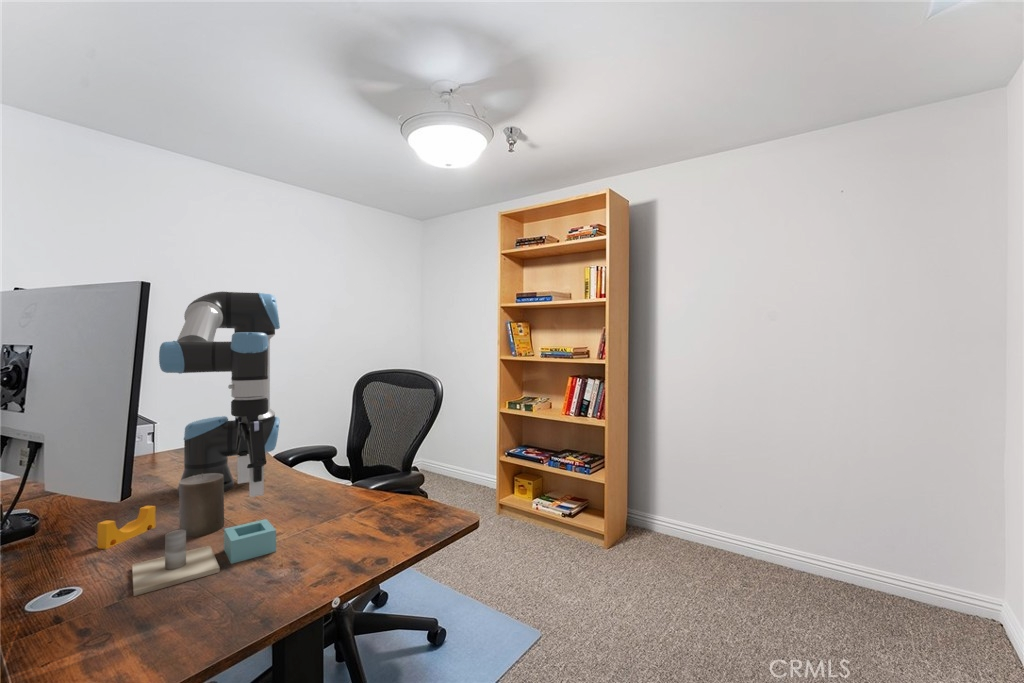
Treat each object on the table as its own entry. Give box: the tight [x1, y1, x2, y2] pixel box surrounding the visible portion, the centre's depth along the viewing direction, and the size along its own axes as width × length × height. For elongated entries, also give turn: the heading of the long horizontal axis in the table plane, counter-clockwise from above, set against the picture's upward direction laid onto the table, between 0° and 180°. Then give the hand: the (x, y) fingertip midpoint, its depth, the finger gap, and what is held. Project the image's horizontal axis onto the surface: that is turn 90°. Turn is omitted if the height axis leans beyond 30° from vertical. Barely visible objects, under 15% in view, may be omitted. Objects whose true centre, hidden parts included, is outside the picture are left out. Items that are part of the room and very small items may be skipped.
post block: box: [131, 529, 221, 597], centre depth 96 cm, size 14×14×8 cm
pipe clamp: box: [96, 505, 157, 550], centre depth 112 cm, size 12×4×6 cm, turn 170°
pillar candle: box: [178, 473, 225, 538], centre depth 117 cm, size 10×10×15 cm
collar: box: [223, 518, 277, 565], centre depth 106 cm, size 9×9×5 cm
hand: (249, 488), depth 105 cm, fingers open, 13 cm apart
